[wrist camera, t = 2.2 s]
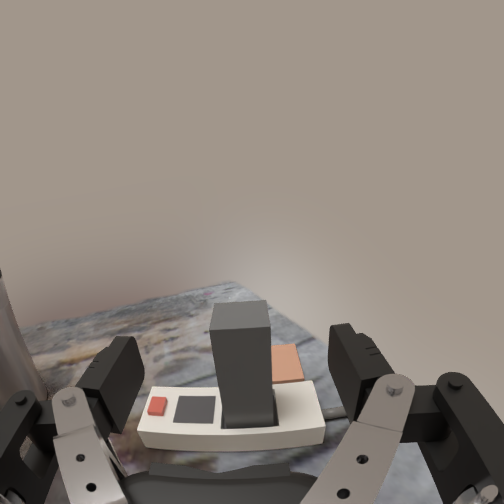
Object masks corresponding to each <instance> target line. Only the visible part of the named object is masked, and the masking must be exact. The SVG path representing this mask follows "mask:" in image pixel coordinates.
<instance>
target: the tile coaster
mask: <svg viewBox="0 0 504 504" xmlns="http://www.w3.org/2000/svg"><path fill="white" fill-rule="evenodd" d="M271 355H272V384H282V383H292V382H301V381H304V376H303V372H302V368H301V364H300V361H299V357H298V354H297V350H296V346H295V344H285V345H274V346H271Z"/></svg>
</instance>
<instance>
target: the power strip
mask: <svg viewBox="0 0 504 504" xmlns="http://www.w3.org/2000/svg"><path fill="white" fill-rule="evenodd" d="M272 386H273V423H274V427H263V428H245V429H226V424H225V419H224V413H223V408H222V403H221V398H220V392H219V387H214V388H181V387H153V386H152V389H151V392H150V395H149V397H148V400H147V403H146V406H145V409H144V411H143V414H142V417H141V420H140V423H139V426H138V429H137V432H138V434H139V435H140V437H141V439H142V441H143V443H144V445H145V447H147V448H156V449H167V450H181V451H203V452H236V451H259V450H273V449H284V448H293V447H301V446H309V445H315V444H322V443H323V438H324V433H325V427H326V426H325V422H324V420H326V419H332V418H338V417H343V416H347V414H346V412H345V409H344V406H341V407H336V408H330V409H323V410H321V408H320V405H319V402H318V398H317V395H316V392H315V388H314V385H313V382H312V380H311V381H303V382H294V383H284V384H273V385H272Z"/></svg>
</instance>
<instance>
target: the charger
mask: <svg viewBox="0 0 504 504" xmlns="http://www.w3.org/2000/svg"><path fill="white" fill-rule="evenodd" d="M209 332H210V338H211V345H212V351H213V357H214V363H215V369H216V375H217V381H218V387H219V392H220V398H221V403H222V408H223V413H224V419H225V424H226V429H245V428H263V427H274V423H273V386H272V355H271V328H270V321H269V315H268V308H267V302H266V300H261V301H246V302H229V303H214V308H213V313H212V318H211V323H210V328H209Z"/></svg>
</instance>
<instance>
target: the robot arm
mask: <svg viewBox="0 0 504 504" xmlns="http://www.w3.org/2000/svg"><path fill="white" fill-rule="evenodd" d="M328 366H329V371H330V373H331V376H332V378H333V381H334V383H335V386H336V388H337V391H338V393H339V396H340V399H341V401H342V404H343V406H344V409H345V412H346V414H347V417H348V419H349V422H350V427H349V429H348V430H347V432H346V434H345V436H344V437H343V439H342V441H341V442H340V444H339V446H338V448H337V449H336V451H335V452H334V454H333V456H332V457H331V459H330V460H329V462H328V464H327V465H326V467H325V468H324V470H323V471H322V473H321V474H320V476H319V477H315V476H313V475H309V474H305V473H300V472H292V471H290V468H289V463H280V464H269V465H254V466H250V467H246V468H241V469H237V470H233V471H228V472H223V473H212V472H208V471H204V470H199V469H195V468H192V467H188V466H184V465H173V464H162V463H153V462H152V463H151V466H150V470H149V471H145V472H140V473H136V474H132V475H130V476H128V475H127V473H126V471H125V470H124V468H123V466H122V464H121V462H120V460H119V458H118V456H117V454H116V452H115V449H114V447H113V445H112V443H111V441H110V439H109V438H108V437H109V435H110V432H111V433H117V434H122V431H123V429H124V426H125V424H126V421H127V419H128V416H129V414H130V411H131V409H132V406H133V404H134V402H135V399H136V397H137V394H138V392H139V390H140V387H141V385H142V383H143V380H144V374H145V372H144V366H143V362H142V359H141V356H140V353H139V349H138V346H137V343H136V340H135V338H134V337H132V336H116V337H115V338H114V340H113V341H112V343H111V344H110V346H109V347H106V348H104V349H103V350H102V351H100V352H99V353H98V354H97V355H96V357H95V358H94V359H93V362H91V364H90V365H89V368H87V370H86V371H85V372H84V374H83V375H82V377H81V378H80V380H79V381H78V383H77V384H76V386H75V387H67V388H64V389H62V390H60V391H58V392H57V393H56V394H55V395H54V397H53V399H52V400H46V399H47V389H46V387H45V385H44V383H43V381H42V379H41V377H40V375H39V373H38V371H37V369H36V367H35V364H34V362H33V360H32V358H31V356H30V353H29V351H28V349H27V346H26V344H25V342H24V339H23V337H22V334H21V332H20V329H19V326H18V324H17V321H16V319H15V316H14V313H13V310H12V307H11V304H10V301H9V298H8V295H7V292H6V288H5V285H4V281H3V278H2V274H1V270H0V504H44V502H45V499H46V497H47V494H48V491H49V489H50V486H51V484H52V481H53V479H54V476H55V474H56V471H57V469H58V466H59V467H60V471H61V474H62V478H63V481H64V485H65V488H66V491H67V494H68V497H69V500H70V503H71V504H373V503H374V501H375V499H376V497H377V495H378V492H379V490H380V488H381V486H382V484H383V482H384V479H385V477H386V475H387V473H388V470H389V468H390V465H391V463H392V460H393V458H394V455H395V453H396V450H397V448H398V445H399V443H410V442H417V443H418V445H419V448H420V450H421V452H422V454H423V456H424V459H425V461H426V463H427V466H428V468H429V470H430V473H431V475H432V477H433V480H434V482H435V484H436V487H437V489H438V492H439V494H440V497H441V499H442V502H443V504H504V424H503V422H502V421H501V420H500V418H499V417H498V416H497V414H496V413H495V411H494V410H493V409H492V408H491V406H490V405H489V403H488V402H487V401H486V399H485V398H484V397H483V396H482V394H481V393H480V392H479V391H478V389H477V388H476V387H475V386H474V384H473V383H472V382H471V381H470V379H469V378H468V377H467V376H465V375H463V374H461V373H456V372H448V373H445V374H443V375H441V376H440V377H439V378H438V380H437V383H436V385H429V386H428V385H427V386H415V385H414V383H413V382H412V381H411V379H409V378H408V377H406V376H404V375H400V374H395V373H394V371H393V370H392V368H391V367H390V365H389V364H388V362H387V361H386V359H385V358H384V356H383V355H382V354H381V352H380V350H379V349H378V348H377V346H376V345H375V343H374V342H373V341H372V339H371V338H369V337H368V336H366V335H365V334H363V333H359V334H356V333H355V331H354V330H353V328H352V327H351V325H350V324H349V323H345V324H338V325H332V326H331V327H330V332H329V347H328ZM26 436H28V437H29V438H30V440H31V441H32V442H33V443H32V444H31V446H30V448H29V450H28V452H27V454H26V456H25V458H24V460H22V459H21V457H20V447H21V445H22V443H23V442H24V440H25V438H26Z"/></svg>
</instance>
